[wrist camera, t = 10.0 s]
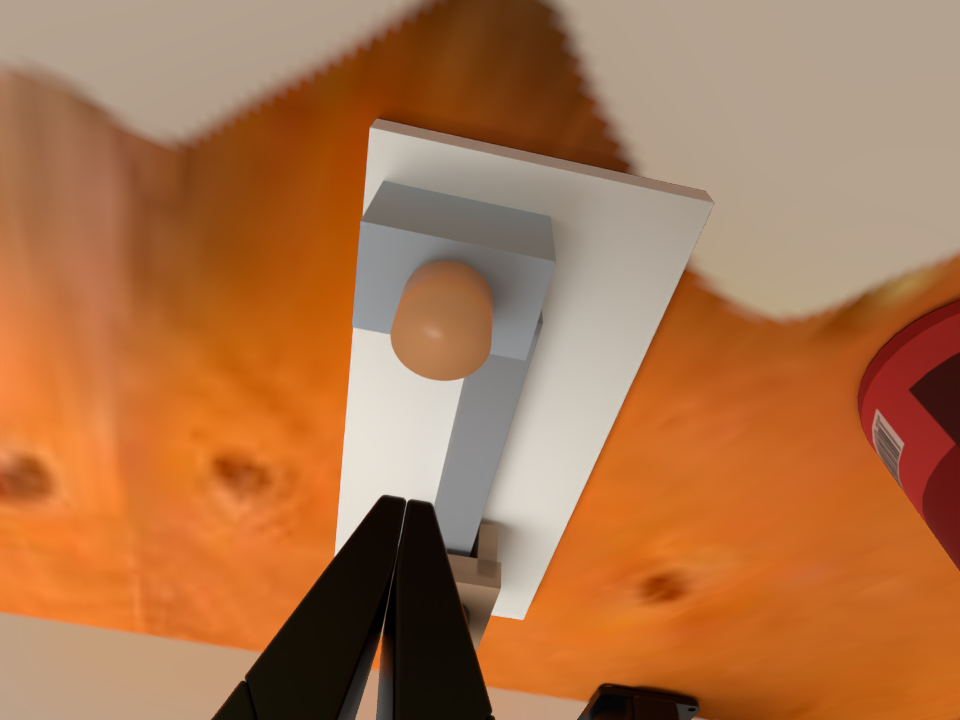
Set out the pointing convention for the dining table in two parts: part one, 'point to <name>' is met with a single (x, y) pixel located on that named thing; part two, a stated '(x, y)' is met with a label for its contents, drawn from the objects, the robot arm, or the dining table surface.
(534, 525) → the plate
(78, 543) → the dining table surface
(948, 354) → the canned food
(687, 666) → the dining table surface
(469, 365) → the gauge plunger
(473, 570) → the carriage
